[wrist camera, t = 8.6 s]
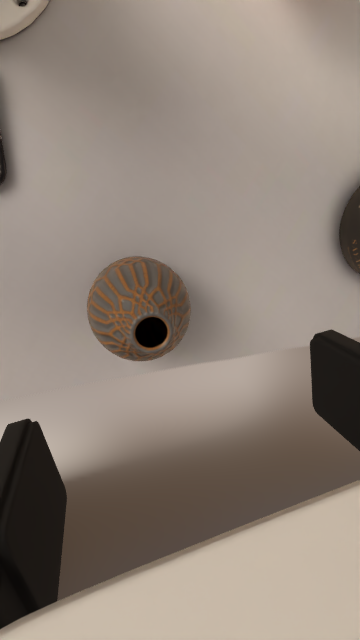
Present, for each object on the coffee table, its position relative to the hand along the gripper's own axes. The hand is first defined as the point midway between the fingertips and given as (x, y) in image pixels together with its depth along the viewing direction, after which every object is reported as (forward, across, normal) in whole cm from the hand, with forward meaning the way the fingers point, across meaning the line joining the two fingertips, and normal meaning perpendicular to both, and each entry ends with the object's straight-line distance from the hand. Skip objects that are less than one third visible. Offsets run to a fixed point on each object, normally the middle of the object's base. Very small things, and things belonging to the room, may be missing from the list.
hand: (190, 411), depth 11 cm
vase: (+16, 0, 0) cm, 16 cm away
